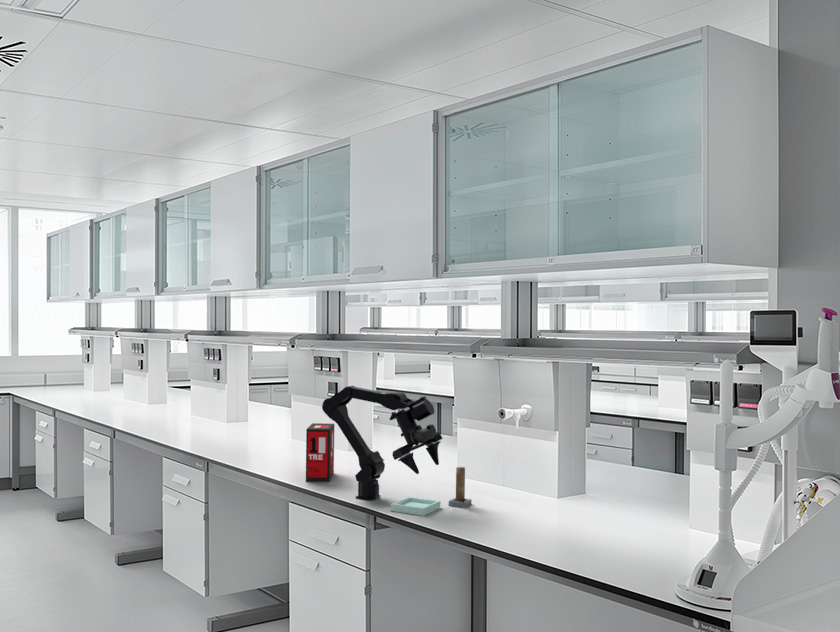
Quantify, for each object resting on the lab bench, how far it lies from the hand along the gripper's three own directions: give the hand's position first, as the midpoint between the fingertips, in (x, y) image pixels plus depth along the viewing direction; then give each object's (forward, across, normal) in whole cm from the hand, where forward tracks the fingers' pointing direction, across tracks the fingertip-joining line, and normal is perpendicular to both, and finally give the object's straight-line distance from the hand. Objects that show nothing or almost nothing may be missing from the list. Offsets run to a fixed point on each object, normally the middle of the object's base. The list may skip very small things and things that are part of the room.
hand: (428, 469), depth 259 cm
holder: (+15, +6, 0) cm, 16 cm away
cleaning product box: (-16, -4, +59) cm, 61 cm away
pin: (+15, +6, 0) cm, 16 cm away
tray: (+10, -9, +3) cm, 14 cm away
